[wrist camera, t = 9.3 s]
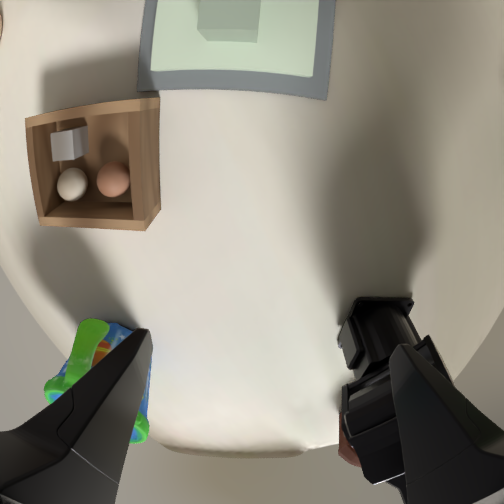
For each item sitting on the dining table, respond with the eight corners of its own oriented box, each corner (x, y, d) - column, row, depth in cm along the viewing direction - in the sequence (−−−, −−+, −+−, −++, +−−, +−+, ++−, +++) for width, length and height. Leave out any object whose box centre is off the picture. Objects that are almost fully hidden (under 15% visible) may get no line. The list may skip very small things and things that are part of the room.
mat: (335, -36, 10) (336, -38, 10) (324, 100, 16) (326, 100, 15) (156, -42, 10) (154, -45, 9) (139, 91, 15) (137, 91, 15)
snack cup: (162, 389, 32) (147, 457, 24) (88, 365, 31) (63, 427, 22) (174, 308, 25) (146, 406, 16) (73, 276, 23) (20, 354, 14)
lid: (316, -30, 10) (333, -58, 6) (308, 77, 15) (326, 71, 11) (170, -34, 10) (149, -61, 6) (156, 71, 14) (128, 66, 10)
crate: (160, 97, 16) (140, 98, 12) (161, 209, 20) (145, 231, 17) (54, 111, 15) (25, 118, 12) (63, 206, 19) (40, 225, 16)
